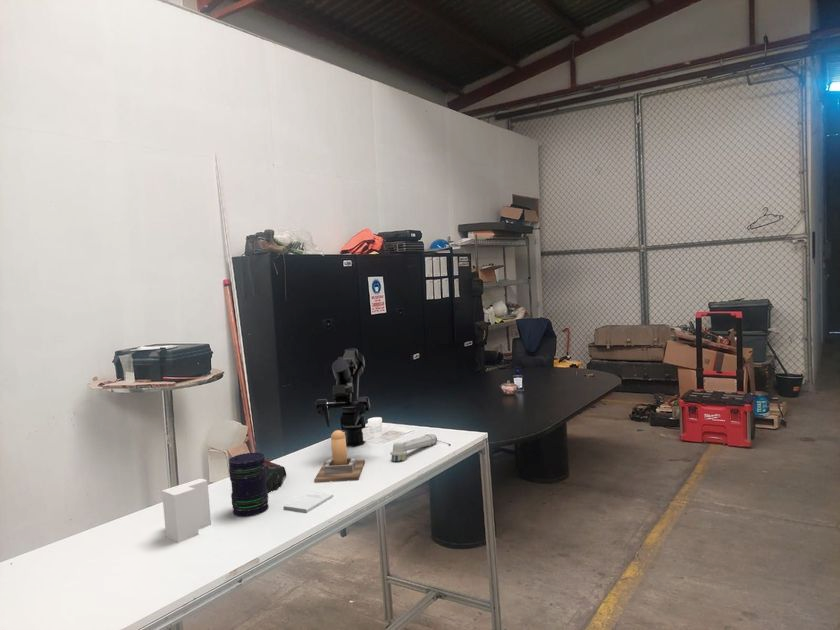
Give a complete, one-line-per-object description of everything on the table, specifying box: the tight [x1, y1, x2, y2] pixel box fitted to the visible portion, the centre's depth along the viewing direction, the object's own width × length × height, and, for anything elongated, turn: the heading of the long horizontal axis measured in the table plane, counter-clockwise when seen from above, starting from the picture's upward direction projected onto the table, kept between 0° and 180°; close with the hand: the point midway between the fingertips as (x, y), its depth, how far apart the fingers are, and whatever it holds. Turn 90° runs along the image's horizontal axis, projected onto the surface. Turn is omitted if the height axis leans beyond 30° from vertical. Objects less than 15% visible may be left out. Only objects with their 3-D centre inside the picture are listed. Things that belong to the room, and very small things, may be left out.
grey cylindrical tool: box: [389, 433, 438, 462], centre depth 210 cm, size 5×7×25 cm
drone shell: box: [264, 458, 287, 494], centre depth 187 cm, size 21×20×8 cm
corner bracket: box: [161, 478, 212, 544], centre depth 153 cm, size 11×11×12 cm
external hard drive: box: [282, 490, 334, 514], centre depth 166 cm, size 2×8×12 cm
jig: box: [314, 457, 366, 483], centre depth 193 cm, size 18×14×3 cm
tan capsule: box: [330, 429, 348, 465], centre depth 193 cm, size 5×5×13 cm
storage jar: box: [228, 452, 269, 518], centre depth 164 cm, size 10×10×15 cm
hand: (341, 426), depth 200 cm, fingers open, 9 cm apart
